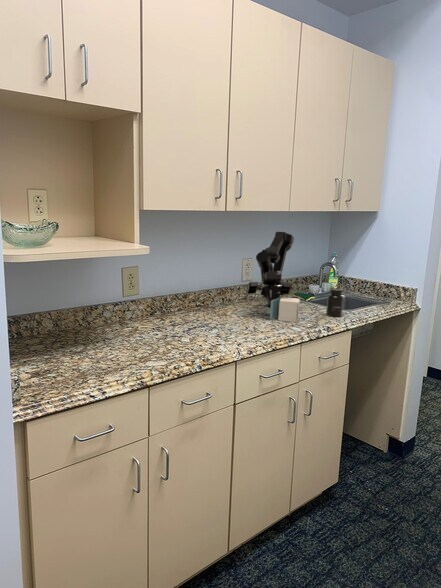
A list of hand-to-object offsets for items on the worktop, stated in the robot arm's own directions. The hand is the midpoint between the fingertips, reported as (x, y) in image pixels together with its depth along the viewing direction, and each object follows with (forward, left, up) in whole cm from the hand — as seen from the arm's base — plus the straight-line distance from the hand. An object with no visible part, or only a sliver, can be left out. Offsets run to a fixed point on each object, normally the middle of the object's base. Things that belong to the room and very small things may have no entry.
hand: (271, 304), depth 195 cm
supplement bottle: (-8, +32, -6) cm, 33 cm away
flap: (-2, +2, -6) cm, 7 cm away
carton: (+1, +8, -6) cm, 10 cm away
